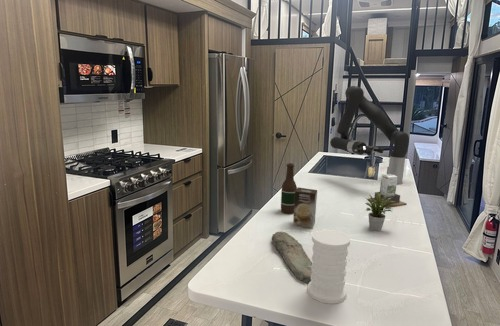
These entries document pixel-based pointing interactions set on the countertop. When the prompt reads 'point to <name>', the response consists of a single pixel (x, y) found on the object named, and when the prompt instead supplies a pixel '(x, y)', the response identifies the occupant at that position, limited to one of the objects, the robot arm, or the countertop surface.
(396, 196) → the collar block
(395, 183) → the syrup box
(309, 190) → the coffee box
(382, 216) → the house plant
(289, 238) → the elongated rock
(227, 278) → the countertop surface
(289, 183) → the beer bottle
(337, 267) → the decorative container
